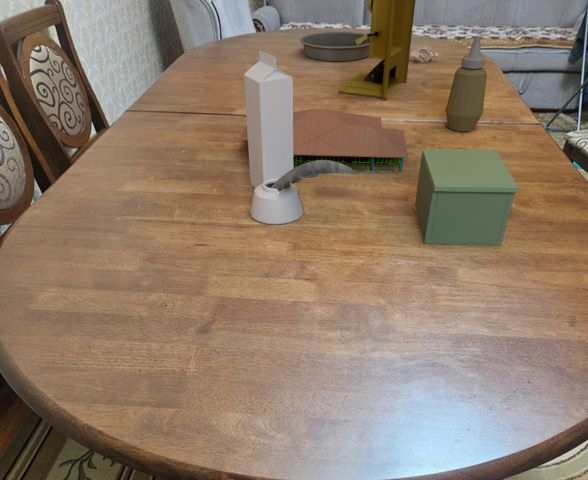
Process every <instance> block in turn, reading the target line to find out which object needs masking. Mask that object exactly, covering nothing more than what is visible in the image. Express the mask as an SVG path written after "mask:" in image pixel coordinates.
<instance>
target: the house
mask: <svg viewBox="0 0 588 480" xmlns="http://www.w3.org/2000/svg"><path fill="white" fill-rule="evenodd" d="M382 125H383V124H382V117H379V116H371V115H366V114H359V113H352V112H348V111H347V112H346V111H341V110H340V111H339V110H333V109H328V108H327V109H325V108H324V109H321V108H320V109H319V108H312V109H311V108H310V109H304V110H297V111H296V110H295V111H293V158H295V160H294V159H293V162H295V163H296V164H295V168H296V167H298V165H297V164H298V163H297V162H299V163H300V164H302V156H316V161H317V160H319V157H318V156H320V157H321V159H320V160H323V157H337V162H338V163H341V164H344V160H342V161H340V160H339V159H340V157H354V159H355V160H354V161H353V163H354V164H356V162H357V161H356V160H357V157H358V158H361V157H362V158H368V159H369V158H370V159H369V161H362V162H361V160H359V161H358V165H360V164H363V167H362V169H364V168H365V167H364V166H365V163H367V164H371V169H368V168H369V166H367V169H366V172H373V173H375V172H376V173H378V172H379V173H391V170H389V171H387V168H385V170H382V167H383V165H381V168H380V170H374V164H375V162H376V167H378V166H379V165H378V164H381V162H384V161H385V162H388V161H389V165H391V164H394V165H393V168H395V167H396V166H395V165H396V162H397V159H399V160H398V165H399V166H398V168H397V169H398V170H399V168H400V173H402V172H403V167H404V159H409V158H410V157H409V152H408V146H407V140H406V135H405V130H403V129H395V128H388V127H383V126H382ZM238 141H243V143H248V134H247V124H246V125H245V126H244V128H243V130H242V133H241V135H240V137H239V139H238ZM297 156H299V158H300V160H297V159H298V158H297ZM376 158H378V159H376ZM380 158H382V159H380ZM384 158H386V160H384ZM388 158H390V160H388ZM393 159H394V162H393Z"/></svg>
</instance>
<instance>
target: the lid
mask: <svg viewBox="0 0 588 480" xmlns="http://www.w3.org/2000/svg"><path fill="white" fill-rule="evenodd" d="M422 155H423V159H424V162H425V165H426V168H427V171H428V174H429V177H430V180H431V184H432V187H433V190H434V191H446V192H512V193H515V194H516V193H518V192H519V186H518V184H517V182H516V180H515V179H514V177H513V176H512V174H511V172H510V171H509V169H508V167H507V166H506V164H505V163H504V161H503V159H502V158H501V155H499V152H498V151H497V149H482V148H481V149H476V148H475V149H474V148H473V149H471V148H468V149H467V148H464V149H463V148H422V149H421V156H422Z"/></svg>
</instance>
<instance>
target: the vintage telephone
mask: <svg viewBox="0 0 588 480" xmlns="http://www.w3.org/2000/svg"><path fill="white" fill-rule="evenodd" d="M366 6H367V10H368V11H369V12H370V14H371V17H370V29H369V30H370V32H368V33H366V35H364V36H363V37H362V38H359V39H356V40H355V41H356V44H357V45H358V44H360V43H361V42H362V41H363V40H366V39H368V38H369V36H370V45H369V56H368V57H369V59H376V60H381V61H380V62H378V63H377V64H376V65H375V66H374V67H373V69H371V70H370V71H369V72H359V73H358V74H356V75H355V76H353V77H352V78H350V79H349V80H347V81H346V82H345V83H343V85H342V87H341V88H340V89H339V90H338V93H339V94H344V95H352V96H360V95H361V96H362V97H369V98H377V99H378V98H379V99H381V100H382V101H387V99H388V94H389V93H390V92H391V91H393V90H394V89H395V88H396V87H397V86H398V85H400V84H407V81H408V72H409V71H408V70H409V62H410V55H411V44H412V36H413V29H414V28H413V26H414V18H415V10H416V9H415V7H416V0H366ZM361 96H360V97H361Z"/></svg>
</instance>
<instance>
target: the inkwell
mask: <svg viewBox="0 0 588 480" xmlns="http://www.w3.org/2000/svg"><path fill="white" fill-rule="evenodd" d="M334 173H338V174H351V175H358V173H357V171H356V170H355V169H352V167H349V166H348V165H347V164H344V163H343V164H342V162H338V161H335V160H330V159H329V160H328V159H322V160H321V159H318V160H317V159H316V160H311V161H307V162H304V163H303V164H299V165H297V167H296V166H295V167H294V169H292V170H290V171H289V172H287V173H286V174H285V175H283V176H282V177H281V178H274V179H269V180H266V181H264V182H263V184H260V185H259V186H257V187H256V188H254V191H253V195H252V199H251V202H250V208H249V214H250V216H251V218H252V219H253V220H255V221H257V222H259V223H262V224H266V225H284V224H290V223H293V222H295V221H297V220H299V219H300V218H301V217H303V215H304V211H305V208H304V204H303V201H302V198H301V194H300V192H299V188H298V187H297V186H296V185H295V184H297V183H300V182H301V181H302V180H303V179H304V178H305V179H313V178H318V177H321V175H329V174H334ZM292 183H294V185H293V184H292Z"/></svg>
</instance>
